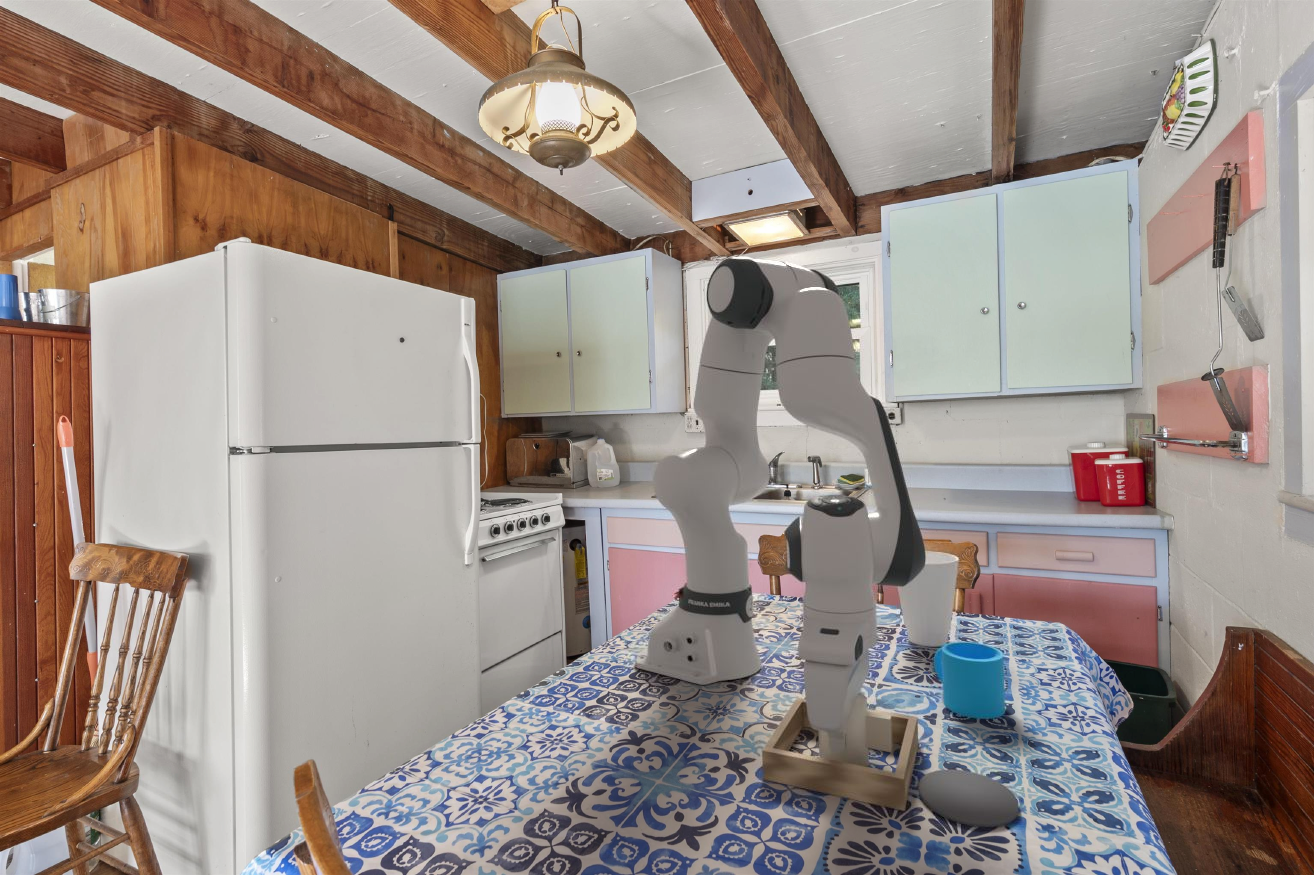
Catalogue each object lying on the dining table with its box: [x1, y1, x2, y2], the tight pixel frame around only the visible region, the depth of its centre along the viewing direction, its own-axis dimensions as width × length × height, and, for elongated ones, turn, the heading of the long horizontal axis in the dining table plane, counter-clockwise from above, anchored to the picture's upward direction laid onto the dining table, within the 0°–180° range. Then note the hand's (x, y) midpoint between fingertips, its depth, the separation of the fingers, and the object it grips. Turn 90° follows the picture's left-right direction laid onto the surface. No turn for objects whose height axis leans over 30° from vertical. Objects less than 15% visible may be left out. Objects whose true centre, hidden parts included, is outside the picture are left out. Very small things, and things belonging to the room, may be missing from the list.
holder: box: [761, 697, 919, 812], centre depth 80 cm, size 16×16×4 cm
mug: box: [933, 641, 1006, 720], centre depth 96 cm, size 12×8×8 cm
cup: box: [897, 550, 960, 647], centre depth 122 cm, size 12×12×16 cm
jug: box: [817, 692, 893, 767], centre depth 80 cm, size 9×6×8 cm
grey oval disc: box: [918, 769, 1019, 828], centre depth 71 cm, size 10×10×1 cm
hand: (843, 735), depth 80 cm, fingers closed on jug, 6 cm apart
